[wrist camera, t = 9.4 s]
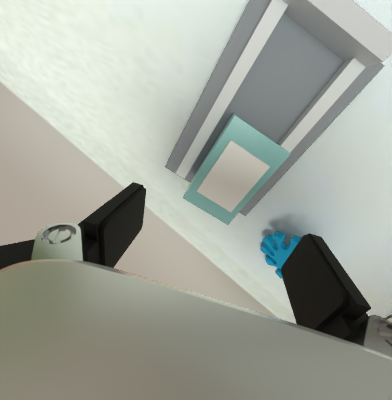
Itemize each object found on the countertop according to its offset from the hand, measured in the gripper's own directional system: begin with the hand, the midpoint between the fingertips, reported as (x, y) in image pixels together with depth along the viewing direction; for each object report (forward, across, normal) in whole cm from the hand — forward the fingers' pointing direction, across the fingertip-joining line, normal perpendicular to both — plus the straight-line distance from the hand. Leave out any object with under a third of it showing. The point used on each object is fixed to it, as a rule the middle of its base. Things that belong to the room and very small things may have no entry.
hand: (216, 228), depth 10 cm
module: (+12, 0, -1) cm, 12 cm away
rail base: (+13, -2, -5) cm, 14 cm away
